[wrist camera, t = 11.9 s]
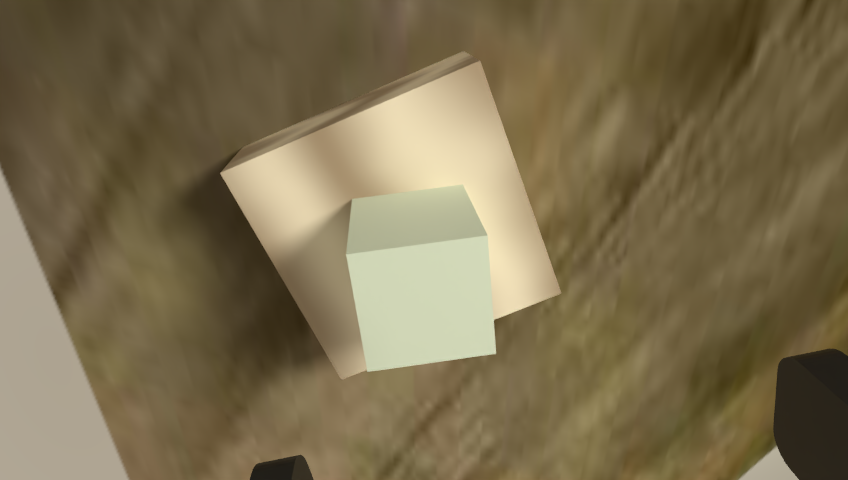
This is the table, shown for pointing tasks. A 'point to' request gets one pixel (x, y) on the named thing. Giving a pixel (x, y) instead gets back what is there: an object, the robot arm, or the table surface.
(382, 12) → the table surface
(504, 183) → the birch block
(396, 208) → the sage block
